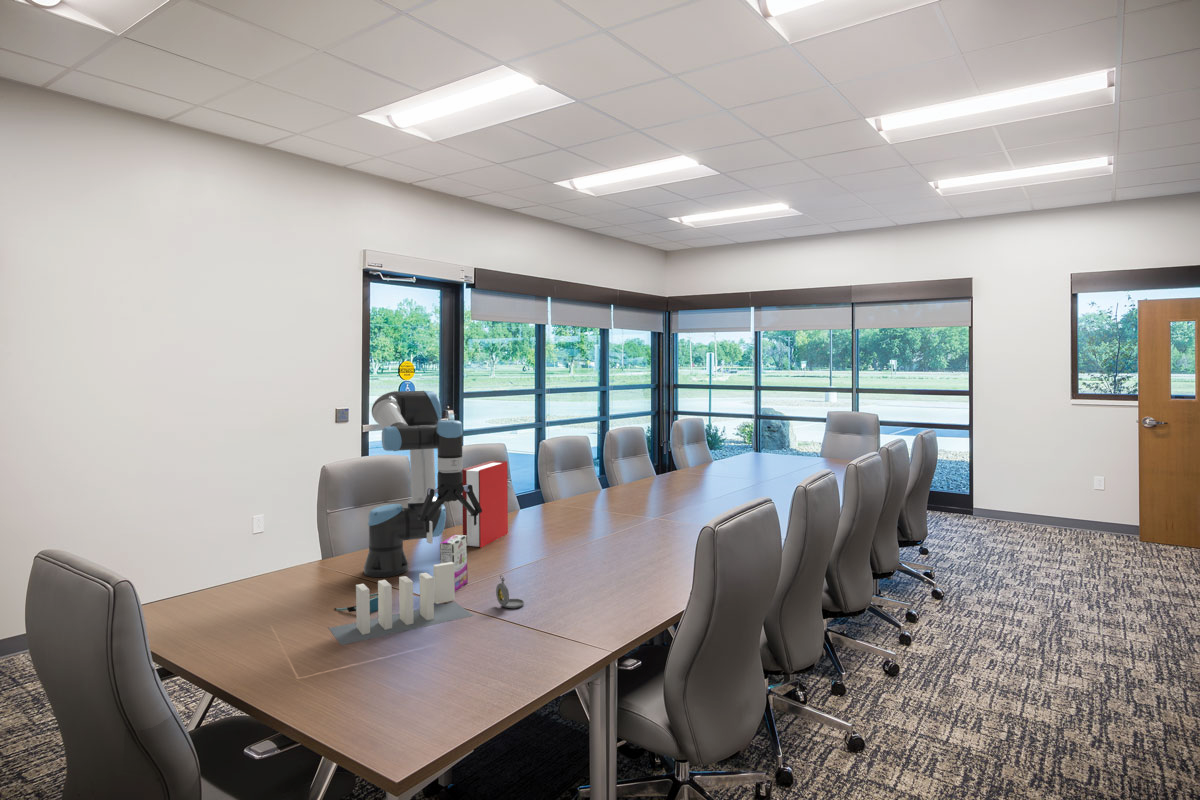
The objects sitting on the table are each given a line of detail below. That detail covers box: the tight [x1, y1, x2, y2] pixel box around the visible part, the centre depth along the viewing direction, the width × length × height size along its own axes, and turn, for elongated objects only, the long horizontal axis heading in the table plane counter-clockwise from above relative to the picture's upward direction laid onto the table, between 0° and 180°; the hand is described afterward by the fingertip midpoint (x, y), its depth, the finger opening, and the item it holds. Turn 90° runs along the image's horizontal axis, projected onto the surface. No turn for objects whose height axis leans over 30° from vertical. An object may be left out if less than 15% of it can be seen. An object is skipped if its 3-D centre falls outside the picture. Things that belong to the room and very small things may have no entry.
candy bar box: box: [439, 534, 469, 593], centre depth 219 cm, size 11×5×16 cm, turn 168°
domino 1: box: [355, 583, 371, 635], centre depth 182 cm, size 6×2×12 cm, turn 35°
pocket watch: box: [495, 575, 525, 609], centre depth 201 cm, size 8×8×10 cm
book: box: [461, 460, 509, 549], centre depth 282 cm, size 27×8×32 cm, turn 163°
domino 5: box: [432, 562, 456, 605], centre depth 205 cm, size 6×2×12 cm, turn 125°
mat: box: [328, 601, 474, 646], centre depth 188 cm, size 14×37×1 cm, turn 125°
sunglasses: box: [333, 592, 378, 613], centre depth 202 cm, size 14×15×5 cm
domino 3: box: [398, 575, 414, 625], centre depth 188 cm, size 6×2×12 cm, turn 35°
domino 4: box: [419, 572, 435, 620], centre depth 192 cm, size 6×2×12 cm, turn 35°
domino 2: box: [377, 579, 393, 630], centre depth 185 cm, size 6×2×12 cm, turn 35°
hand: (450, 539), depth 204 cm, fingers open, 13 cm apart
